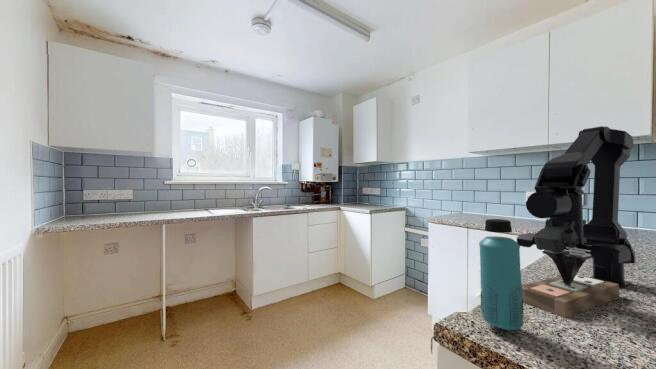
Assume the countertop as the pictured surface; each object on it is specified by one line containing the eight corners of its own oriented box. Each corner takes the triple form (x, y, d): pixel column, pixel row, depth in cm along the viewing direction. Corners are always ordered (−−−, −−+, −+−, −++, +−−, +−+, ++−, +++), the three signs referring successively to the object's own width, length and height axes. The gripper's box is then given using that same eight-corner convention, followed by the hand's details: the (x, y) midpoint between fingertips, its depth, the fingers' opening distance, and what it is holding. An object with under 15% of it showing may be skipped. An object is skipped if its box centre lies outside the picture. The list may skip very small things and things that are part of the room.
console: (570, 284, 68) (570, 272, 69) (619, 297, 60) (619, 284, 60) (516, 300, 60) (516, 286, 60) (565, 317, 52) (564, 302, 52)
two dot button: (577, 285, 66) (576, 274, 66) (604, 292, 61) (603, 280, 62) (565, 288, 64) (565, 277, 64) (593, 295, 60) (592, 284, 60)
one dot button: (543, 295, 61) (543, 283, 61) (570, 303, 56) (570, 291, 56) (530, 299, 59) (530, 287, 59) (557, 308, 54) (556, 295, 54)
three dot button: (561, 290, 63) (560, 279, 63) (588, 297, 59) (587, 286, 59) (548, 293, 61) (548, 282, 61) (575, 302, 57) (575, 290, 57)
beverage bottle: (532, 341, 44) (528, 221, 44) (488, 337, 45) (485, 221, 46) (513, 321, 51) (510, 217, 51) (475, 319, 52) (472, 217, 52)
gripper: (501, 214, 66) (503, 276, 66) (602, 222, 49) (605, 307, 48) (529, 211, 70) (531, 270, 70) (630, 218, 53) (633, 296, 53)
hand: (567, 283), depth 60 cm, fingers closed
